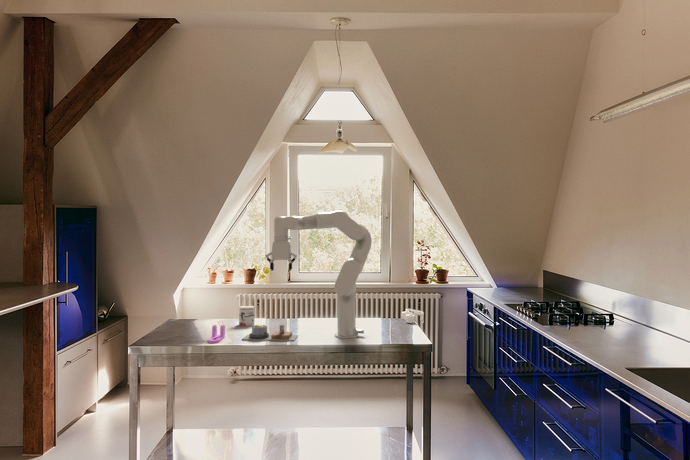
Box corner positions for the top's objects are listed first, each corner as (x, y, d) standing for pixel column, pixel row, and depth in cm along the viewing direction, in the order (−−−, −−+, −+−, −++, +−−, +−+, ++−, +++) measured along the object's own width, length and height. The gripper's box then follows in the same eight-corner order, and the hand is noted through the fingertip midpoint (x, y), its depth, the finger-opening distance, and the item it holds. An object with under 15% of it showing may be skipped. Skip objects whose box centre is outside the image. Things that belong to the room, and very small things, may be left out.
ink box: (239, 327, 271) (239, 307, 271) (239, 326, 276) (239, 306, 276) (254, 327, 273) (254, 306, 273) (253, 325, 278) (254, 305, 278)
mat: (298, 336, 248) (298, 335, 248) (294, 341, 237) (294, 339, 237) (247, 335, 250) (247, 334, 250) (241, 340, 239) (241, 339, 239)
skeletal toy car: (400, 320, 297) (400, 308, 297) (417, 320, 298) (417, 308, 298) (407, 326, 277) (407, 313, 277) (425, 326, 278) (425, 313, 278)
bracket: (214, 337, 245) (214, 324, 245) (224, 337, 245) (224, 324, 245) (206, 343, 232) (207, 329, 232) (218, 343, 232) (218, 329, 232)
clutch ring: (264, 332, 248) (264, 324, 248) (268, 334, 242) (268, 327, 242) (250, 333, 245) (250, 325, 245) (254, 336, 239) (254, 328, 239)
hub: (270, 335, 248) (270, 323, 248) (266, 339, 238) (266, 327, 238) (252, 334, 249) (252, 323, 249) (247, 338, 239) (247, 327, 239)
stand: (292, 335, 247) (292, 323, 247) (288, 339, 238) (288, 327, 238) (275, 335, 248) (275, 323, 248) (271, 339, 239) (271, 326, 239)
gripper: (298, 239, 259) (298, 270, 258) (267, 239, 260) (267, 269, 260) (295, 239, 251) (295, 271, 251) (263, 239, 252) (263, 270, 252)
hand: (281, 270), depth 255 cm, fingers open, 9 cm apart
